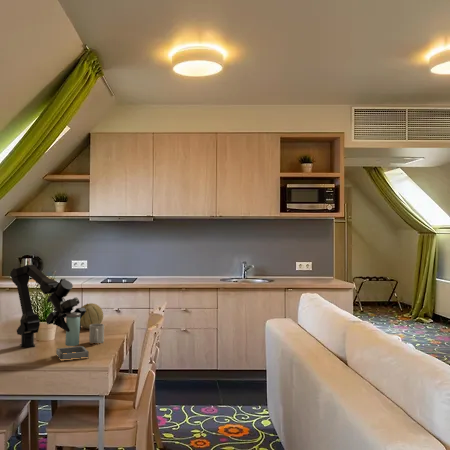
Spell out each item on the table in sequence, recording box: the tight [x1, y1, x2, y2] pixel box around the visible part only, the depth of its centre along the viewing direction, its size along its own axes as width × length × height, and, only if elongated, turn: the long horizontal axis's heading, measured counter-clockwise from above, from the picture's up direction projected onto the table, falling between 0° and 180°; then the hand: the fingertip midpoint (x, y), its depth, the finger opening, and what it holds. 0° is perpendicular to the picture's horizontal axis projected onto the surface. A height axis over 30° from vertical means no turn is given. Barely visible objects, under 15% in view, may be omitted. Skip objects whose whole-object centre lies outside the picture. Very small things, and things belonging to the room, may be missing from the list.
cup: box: [88, 323, 105, 344], centre depth 247 cm, size 7×10×9 cm
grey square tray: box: [55, 345, 90, 359], centre depth 220 cm, size 12×12×3 cm
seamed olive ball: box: [80, 302, 104, 330], centre depth 283 cm, size 15×15×15 cm
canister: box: [64, 311, 81, 347], centre depth 220 cm, size 6×6×14 cm
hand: (74, 330), depth 220 cm, fingers closed on canister, 6 cm apart
